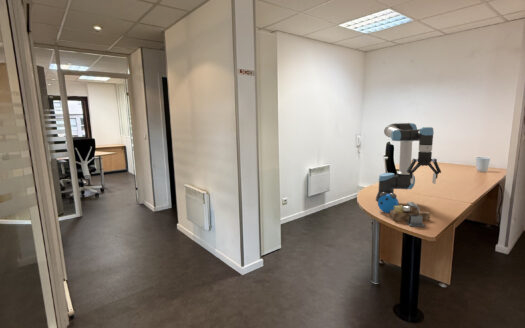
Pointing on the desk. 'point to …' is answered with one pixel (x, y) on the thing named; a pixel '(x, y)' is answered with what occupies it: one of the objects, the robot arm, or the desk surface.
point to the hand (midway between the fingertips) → (422, 183)
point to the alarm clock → (387, 202)
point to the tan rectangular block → (398, 209)
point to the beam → (409, 213)
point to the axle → (408, 209)
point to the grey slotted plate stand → (415, 221)
